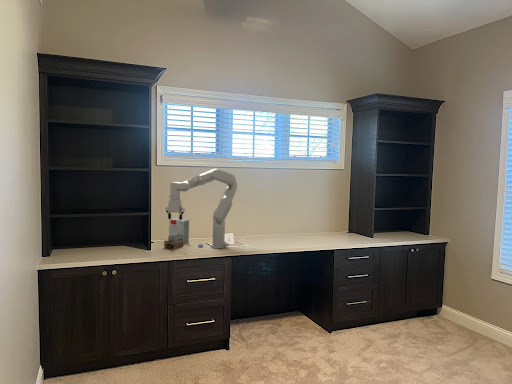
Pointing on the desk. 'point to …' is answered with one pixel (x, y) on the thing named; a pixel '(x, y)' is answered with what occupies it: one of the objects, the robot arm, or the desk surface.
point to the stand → (173, 244)
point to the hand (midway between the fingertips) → (175, 219)
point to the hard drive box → (179, 229)
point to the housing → (174, 237)
